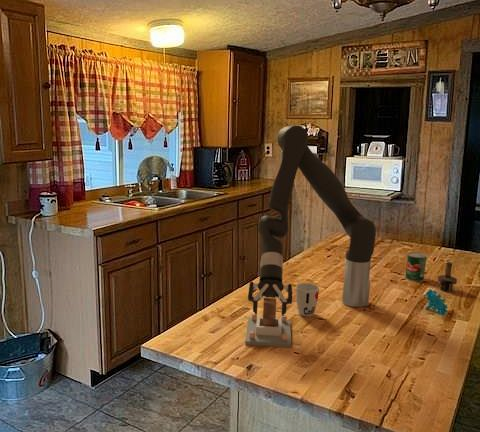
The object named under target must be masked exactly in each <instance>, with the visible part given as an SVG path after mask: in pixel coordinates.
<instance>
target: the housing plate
mask: <svg viewBox="0 0 480 432" xmlns="http://www.w3.org/2000/svg"><path fill="white" fill-rule="evenodd" d="M287 317H288V316H287V314H284V316H282V315H281V317H279V318H278V317H276V320H275V327H268V326H263V316H258V313H257V314H255V313H251V317H248V321H247V327H246V333H245V340H244V344H245V346H259V347H260V346H261V347H262V346H263V347H277V348H292V336H291V334H292V333H291V331H292V330H291V320H290V319H288V318H287Z"/></svg>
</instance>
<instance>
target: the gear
mask: <svg viewBox="0 0 480 432" xmlns="http://www.w3.org/2000/svg"><path fill="white" fill-rule="evenodd" d="M425 294H426V296H425V300H427V303H428V305H427V306H425V309H426V310H429V309H430V308H431V309H432V310H433V311H436V314H438V315H442V316H445V315H446V313H447V312H448V310H447V309H448V305H447V304H445V303H446V301H447V299H446V298H445V297H443V298H442V295H441V293H439V294H437V291H436V290H435V289H434V290H432V289H429V290H427V292H425Z"/></svg>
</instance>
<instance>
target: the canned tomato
mask: <svg viewBox="0 0 480 432" xmlns="http://www.w3.org/2000/svg"><path fill="white" fill-rule="evenodd" d="M426 265H427V254H425V253H422V252H416V251H415V252H408V253H407V257H406V268H405V276H404V278H405V280H408V281H410V282H417V283H418V282H423V281H424V280H425V274H426Z"/></svg>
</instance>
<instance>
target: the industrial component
mask: <svg viewBox="0 0 480 432" xmlns="http://www.w3.org/2000/svg"><path fill="white" fill-rule="evenodd" d="M445 263H446V264H445V272H444V275H443V274H442V275H438V276H437V282H438V283H440V285H439V289H440V291H442V292H448V293H452V292H453V288H454V287H453V286H454V285H456V284H457V281H458V279H457V278H456V277H455V276H451V275H452V269H453V268H452V267H453V262H452V261H446V262H445Z"/></svg>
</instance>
